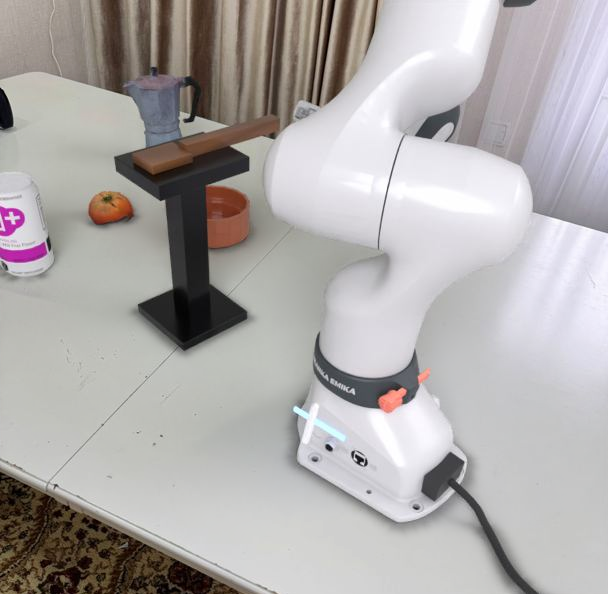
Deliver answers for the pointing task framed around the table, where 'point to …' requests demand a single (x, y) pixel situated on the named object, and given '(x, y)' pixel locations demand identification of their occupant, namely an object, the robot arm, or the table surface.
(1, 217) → the supplement can
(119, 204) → the tomato
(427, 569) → the table surface
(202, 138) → the wooden spatula
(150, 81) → the moka pot
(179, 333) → the black plant stand
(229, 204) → the bowl
